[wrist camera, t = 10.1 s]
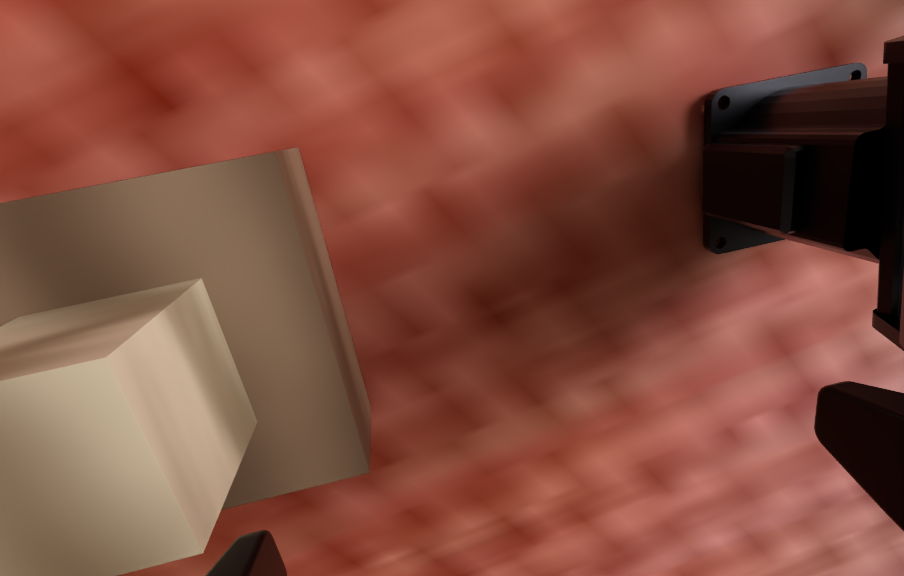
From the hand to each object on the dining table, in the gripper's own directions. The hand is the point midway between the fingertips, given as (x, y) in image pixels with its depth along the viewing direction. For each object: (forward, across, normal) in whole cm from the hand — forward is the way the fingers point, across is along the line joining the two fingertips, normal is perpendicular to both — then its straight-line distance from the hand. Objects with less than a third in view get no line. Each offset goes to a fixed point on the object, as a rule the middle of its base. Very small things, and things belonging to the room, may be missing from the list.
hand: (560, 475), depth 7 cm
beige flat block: (+12, +10, 0) cm, 16 cm away
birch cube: (+8, +10, 0) cm, 13 cm away
